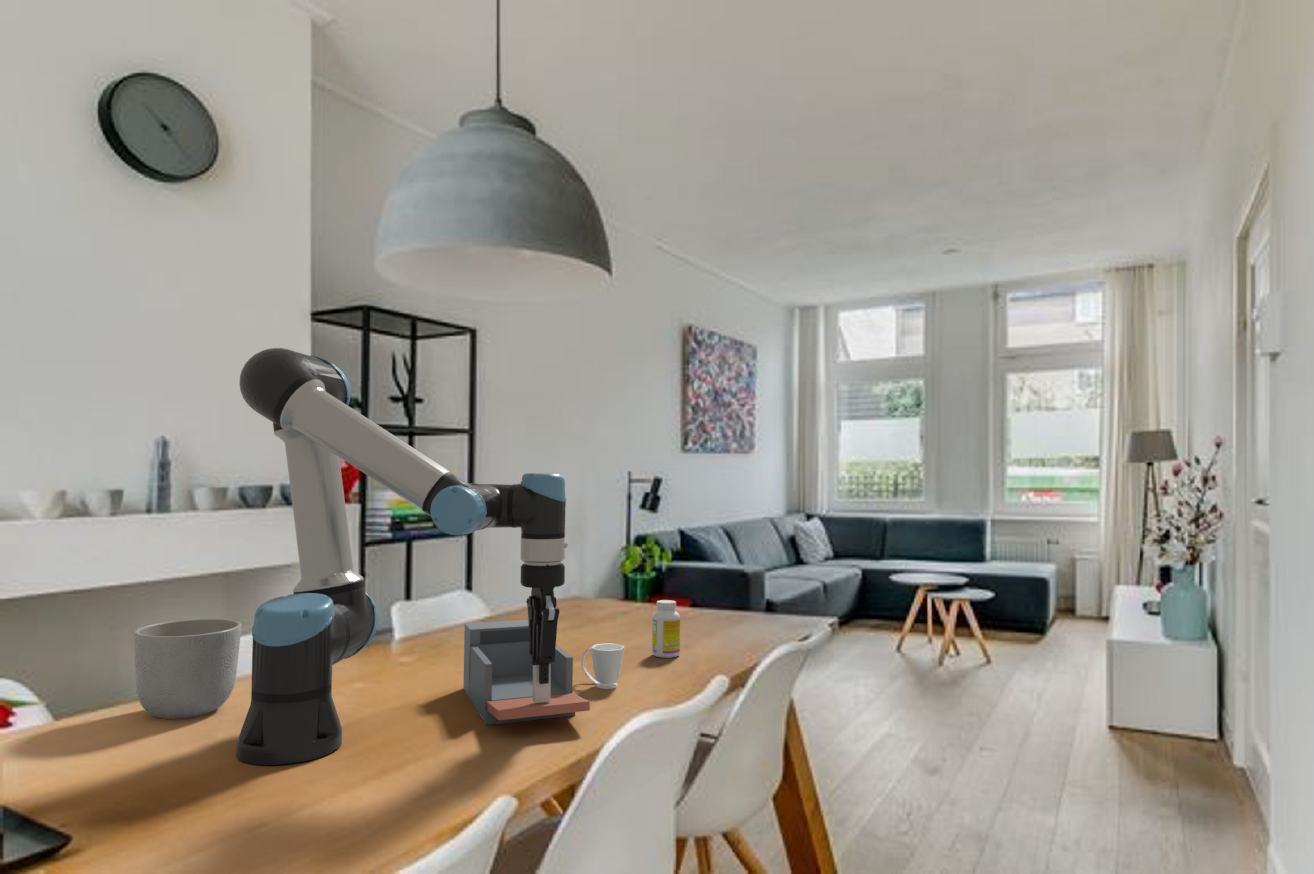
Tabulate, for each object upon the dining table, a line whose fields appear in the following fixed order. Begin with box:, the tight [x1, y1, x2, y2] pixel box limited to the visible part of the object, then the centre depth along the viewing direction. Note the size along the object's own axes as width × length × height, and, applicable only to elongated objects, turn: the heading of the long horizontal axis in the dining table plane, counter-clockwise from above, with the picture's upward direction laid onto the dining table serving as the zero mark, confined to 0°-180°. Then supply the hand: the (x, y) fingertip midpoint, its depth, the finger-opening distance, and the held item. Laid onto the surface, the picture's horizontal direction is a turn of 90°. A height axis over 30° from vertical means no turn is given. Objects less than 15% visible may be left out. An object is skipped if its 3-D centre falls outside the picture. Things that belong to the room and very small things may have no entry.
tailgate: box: [486, 692, 591, 720], centre depth 141 cm, size 16×2×10 cm
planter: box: [132, 618, 243, 720], centre depth 147 cm, size 17×17×15 cm
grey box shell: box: [462, 619, 529, 698], centre depth 164 cm, size 16×7×13 cm, turn 112°
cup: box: [581, 642, 625, 690], centre depth 168 cm, size 7×10×8 cm
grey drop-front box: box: [468, 641, 576, 726], centre depth 153 cm, size 16×18×10 cm
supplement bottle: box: [651, 599, 681, 659], centre depth 195 cm, size 7×7×13 cm
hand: (541, 700), depth 139 cm, fingers closed
